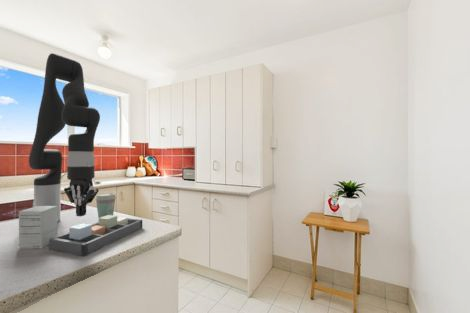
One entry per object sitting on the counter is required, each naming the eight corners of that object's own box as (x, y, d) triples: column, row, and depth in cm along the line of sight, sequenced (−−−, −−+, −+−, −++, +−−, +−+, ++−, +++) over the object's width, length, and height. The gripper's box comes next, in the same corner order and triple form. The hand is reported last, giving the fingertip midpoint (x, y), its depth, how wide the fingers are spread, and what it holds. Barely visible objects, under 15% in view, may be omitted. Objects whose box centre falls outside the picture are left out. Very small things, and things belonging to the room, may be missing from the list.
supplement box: (36, 240, 77) (36, 205, 77) (58, 239, 78) (58, 205, 78) (17, 249, 70) (17, 211, 70) (41, 248, 70) (41, 211, 70)
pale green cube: (98, 227, 81) (98, 218, 81) (108, 223, 86) (108, 214, 86) (107, 228, 80) (107, 219, 80) (117, 224, 84) (117, 215, 84)
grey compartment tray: (49, 249, 70) (49, 238, 70) (114, 224, 95) (114, 216, 95) (84, 256, 66) (84, 244, 66) (142, 228, 91) (142, 220, 91)
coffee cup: (106, 222, 97) (106, 196, 97) (90, 221, 99) (90, 195, 99) (120, 217, 106) (120, 193, 105) (105, 216, 107) (105, 192, 107)
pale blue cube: (69, 238, 71) (69, 227, 71) (82, 233, 75) (82, 223, 75) (79, 239, 70) (79, 229, 69) (91, 235, 74) (91, 224, 74)
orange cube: (84, 239, 76) (85, 229, 76) (96, 234, 80) (96, 225, 80) (94, 240, 75) (94, 230, 75) (105, 236, 79) (105, 226, 79)
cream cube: (110, 228, 87) (110, 220, 87) (119, 225, 91) (119, 216, 91) (119, 229, 85) (119, 221, 85) (127, 226, 90) (127, 217, 90)
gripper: (55, 165, 70) (54, 217, 70) (85, 166, 67) (85, 220, 67) (77, 164, 77) (77, 211, 78) (106, 164, 74) (106, 214, 74)
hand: (81, 215), depth 72 cm, fingers closed
